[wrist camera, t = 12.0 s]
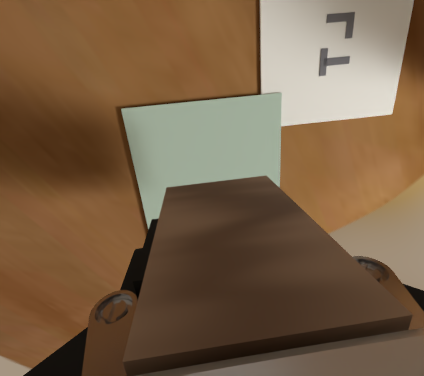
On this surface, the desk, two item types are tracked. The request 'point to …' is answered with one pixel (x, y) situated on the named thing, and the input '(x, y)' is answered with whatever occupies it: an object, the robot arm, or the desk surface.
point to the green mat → (203, 143)
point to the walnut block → (247, 281)
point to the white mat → (332, 56)
